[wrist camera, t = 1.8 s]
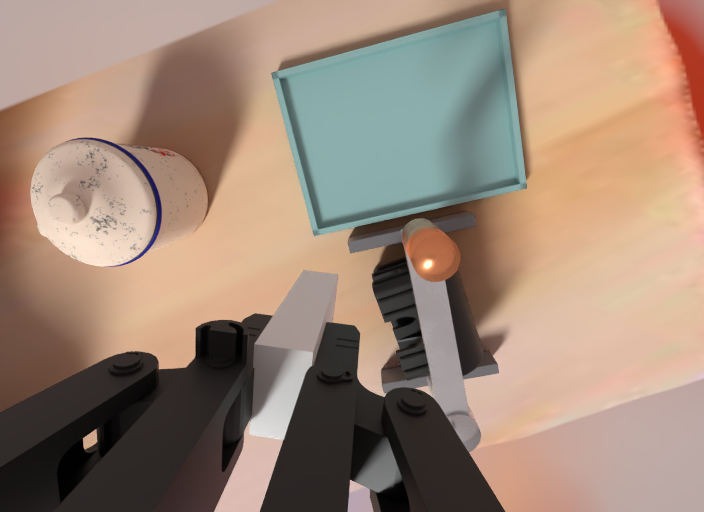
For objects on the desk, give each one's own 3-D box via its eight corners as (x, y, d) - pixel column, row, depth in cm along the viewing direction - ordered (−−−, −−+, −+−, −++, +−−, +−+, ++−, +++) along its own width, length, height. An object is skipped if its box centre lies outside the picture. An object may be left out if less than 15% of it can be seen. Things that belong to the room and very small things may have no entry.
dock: (384, 384, 37) (388, 439, 30) (349, 237, 34) (343, 257, 26) (491, 365, 36) (523, 417, 28) (466, 211, 32) (496, 224, 25)
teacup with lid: (187, 131, 32) (87, 110, 21) (227, 226, 34) (156, 255, 23) (73, 174, 33) (-78, 178, 22) (118, 263, 35) (-1, 309, 24)
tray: (315, 233, 34) (314, 236, 32) (275, 76, 30) (271, 72, 29) (521, 187, 32) (526, 188, 31) (499, 14, 29) (505, 8, 27)
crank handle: (436, 438, 29) (459, 529, 22) (390, 220, 25) (399, 242, 18) (475, 431, 29) (512, 522, 21) (436, 210, 25) (464, 228, 17)
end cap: (471, 331, 35) (494, 369, 29) (403, 352, 36) (410, 393, 30) (441, 239, 33) (459, 256, 27) (370, 263, 34) (370, 286, 28)
